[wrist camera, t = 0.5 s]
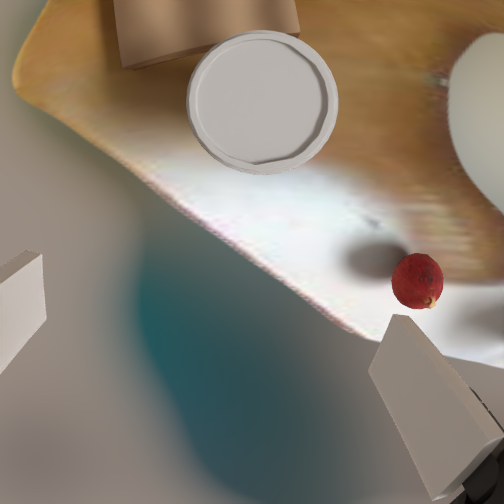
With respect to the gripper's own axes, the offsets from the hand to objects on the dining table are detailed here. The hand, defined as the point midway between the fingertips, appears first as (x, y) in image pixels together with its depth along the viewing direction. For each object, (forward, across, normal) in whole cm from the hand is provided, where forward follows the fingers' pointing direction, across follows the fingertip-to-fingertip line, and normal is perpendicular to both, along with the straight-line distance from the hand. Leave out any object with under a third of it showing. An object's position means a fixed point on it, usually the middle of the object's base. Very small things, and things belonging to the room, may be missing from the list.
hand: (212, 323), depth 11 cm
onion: (+22, +21, -3) cm, 31 cm away
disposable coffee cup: (+22, +2, +10) cm, 24 cm away
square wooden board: (+20, -7, +22) cm, 31 cm away
